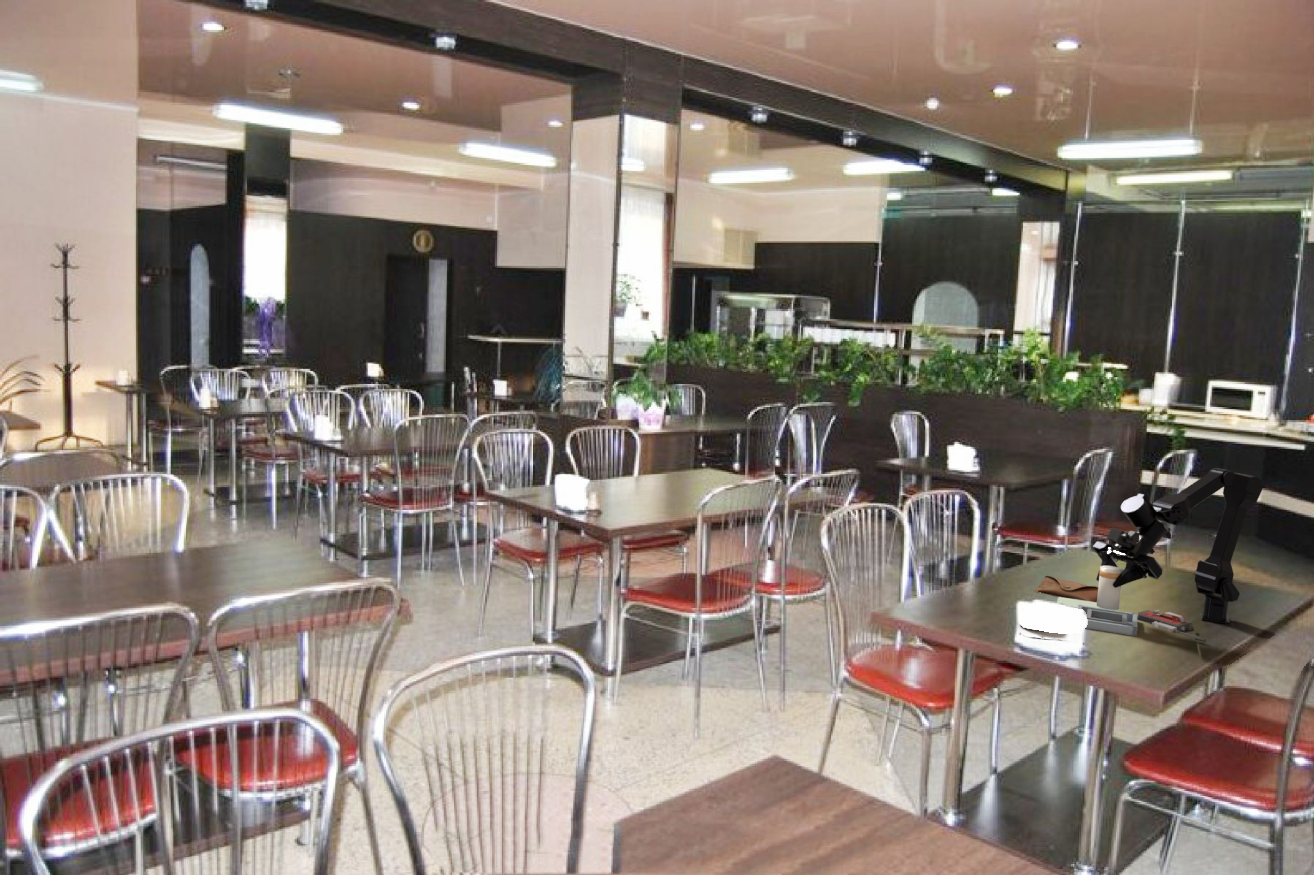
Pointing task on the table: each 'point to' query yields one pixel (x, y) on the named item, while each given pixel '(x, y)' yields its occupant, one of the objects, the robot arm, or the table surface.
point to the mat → (1076, 602)
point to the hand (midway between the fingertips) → (1105, 583)
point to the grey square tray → (1111, 620)
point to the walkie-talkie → (1168, 622)
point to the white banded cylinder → (1108, 588)
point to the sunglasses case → (1068, 589)
